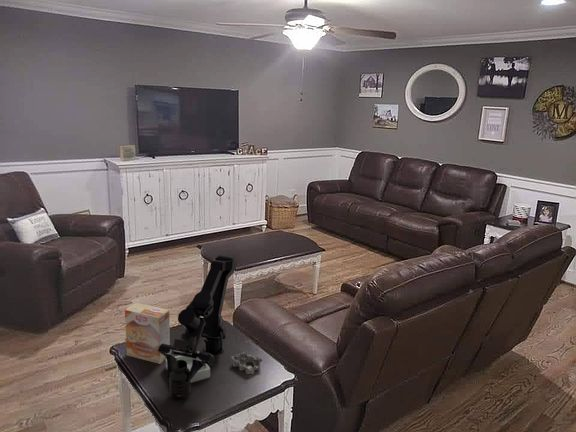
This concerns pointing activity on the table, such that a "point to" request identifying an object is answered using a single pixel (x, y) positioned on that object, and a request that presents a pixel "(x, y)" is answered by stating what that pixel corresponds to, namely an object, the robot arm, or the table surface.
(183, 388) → the supplement bottle
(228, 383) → the table surface
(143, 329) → the coffeecake box
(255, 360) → the egg carton
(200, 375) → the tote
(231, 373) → the table surface
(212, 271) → the robot arm
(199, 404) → the table surface
